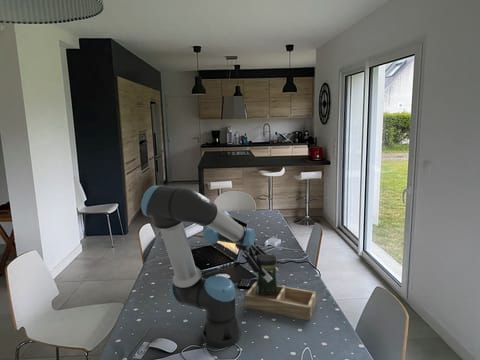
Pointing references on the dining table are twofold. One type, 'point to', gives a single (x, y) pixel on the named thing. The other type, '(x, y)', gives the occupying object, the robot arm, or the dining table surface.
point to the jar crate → (283, 301)
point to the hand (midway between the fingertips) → (273, 276)
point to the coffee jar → (269, 265)
